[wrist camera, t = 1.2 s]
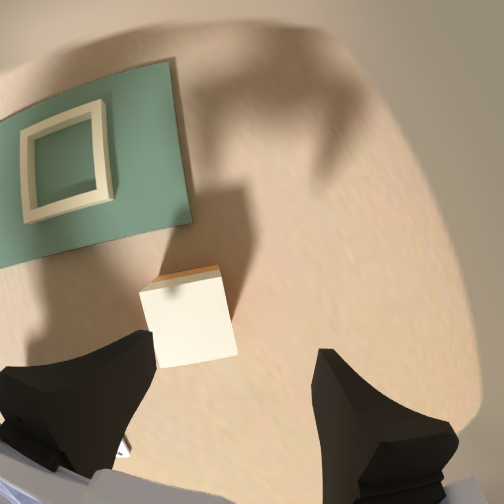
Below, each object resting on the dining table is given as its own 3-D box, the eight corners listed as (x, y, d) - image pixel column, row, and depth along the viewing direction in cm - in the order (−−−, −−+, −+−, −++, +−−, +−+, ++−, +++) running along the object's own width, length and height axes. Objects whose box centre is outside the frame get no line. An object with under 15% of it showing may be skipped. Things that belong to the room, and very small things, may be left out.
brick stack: (172, 333, 21) (160, 368, 15) (158, 275, 21) (139, 292, 15) (231, 322, 22) (238, 354, 16) (218, 264, 21) (221, 276, 15)
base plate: (3, 268, 18) (-12, 271, 16) (-5, 131, 17) (-18, 125, 15) (192, 222, 21) (190, 221, 18) (169, 67, 19) (166, 52, 17)
